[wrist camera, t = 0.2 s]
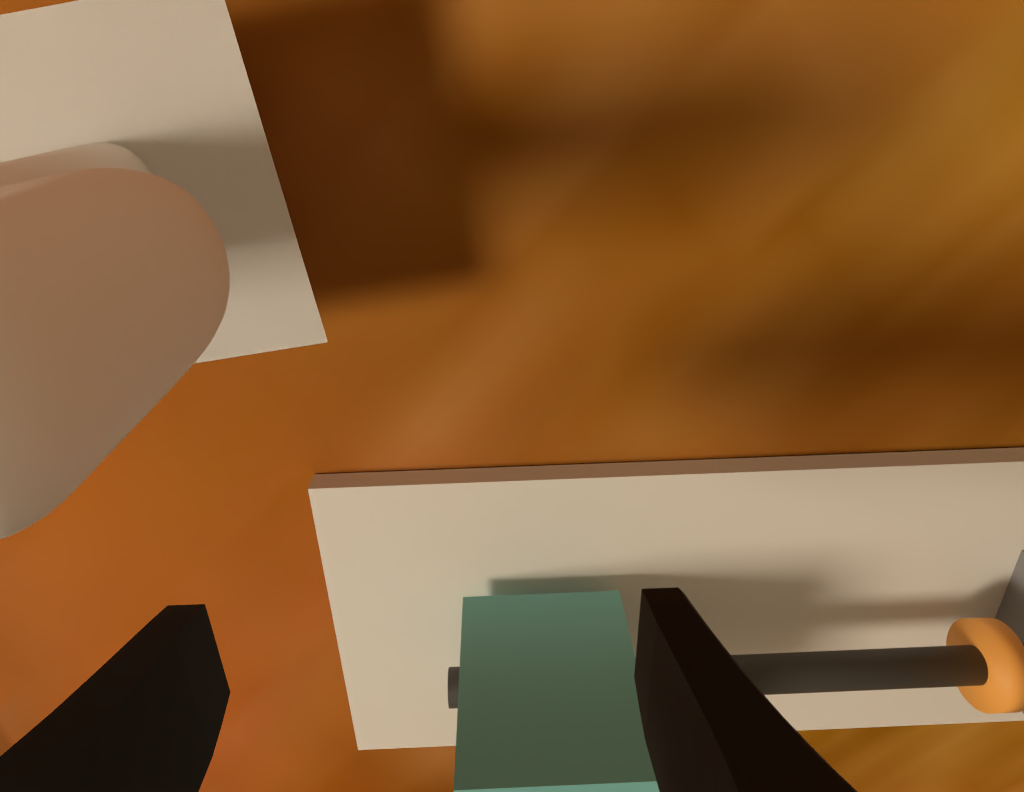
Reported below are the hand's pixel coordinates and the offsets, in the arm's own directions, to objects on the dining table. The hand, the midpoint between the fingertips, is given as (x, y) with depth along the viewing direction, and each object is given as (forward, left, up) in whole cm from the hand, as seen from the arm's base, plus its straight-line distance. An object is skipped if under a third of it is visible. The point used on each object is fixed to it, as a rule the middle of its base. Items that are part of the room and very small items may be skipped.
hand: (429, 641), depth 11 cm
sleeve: (-9, -2, -8) cm, 12 cm away
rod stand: (-9, -9, -10) cm, 16 cm away
